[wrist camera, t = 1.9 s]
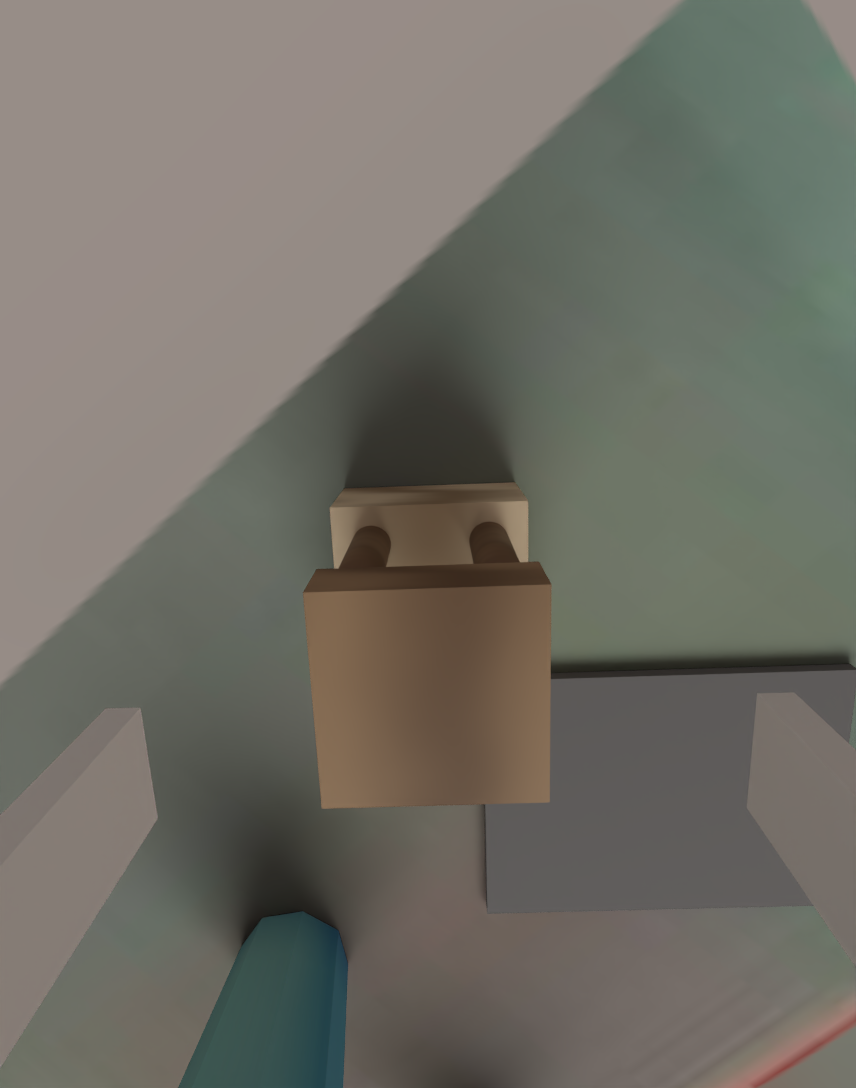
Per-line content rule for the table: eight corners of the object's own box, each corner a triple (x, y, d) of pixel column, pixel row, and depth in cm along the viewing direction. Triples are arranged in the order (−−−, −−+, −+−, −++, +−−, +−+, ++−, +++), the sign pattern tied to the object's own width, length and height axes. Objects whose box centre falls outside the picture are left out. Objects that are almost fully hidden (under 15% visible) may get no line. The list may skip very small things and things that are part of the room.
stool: (355, 676, 26) (321, 808, 18) (344, 521, 24) (303, 592, 17) (514, 671, 26) (549, 802, 18) (513, 515, 24) (551, 584, 17)
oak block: (354, 647, 30) (343, 688, 26) (343, 488, 28) (329, 507, 24) (516, 642, 30) (528, 683, 26) (514, 482, 28) (528, 500, 24)
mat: (486, 903, 33) (487, 913, 33) (482, 675, 30) (483, 681, 30) (821, 895, 33) (828, 905, 32) (850, 663, 30) (858, 669, 29)
